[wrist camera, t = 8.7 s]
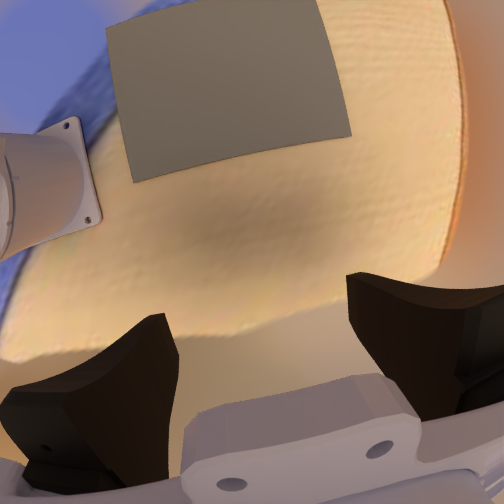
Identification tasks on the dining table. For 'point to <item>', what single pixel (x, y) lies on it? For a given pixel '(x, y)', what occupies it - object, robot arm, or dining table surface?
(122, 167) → the dining table surface
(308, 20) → the mat
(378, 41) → the dining table surface
